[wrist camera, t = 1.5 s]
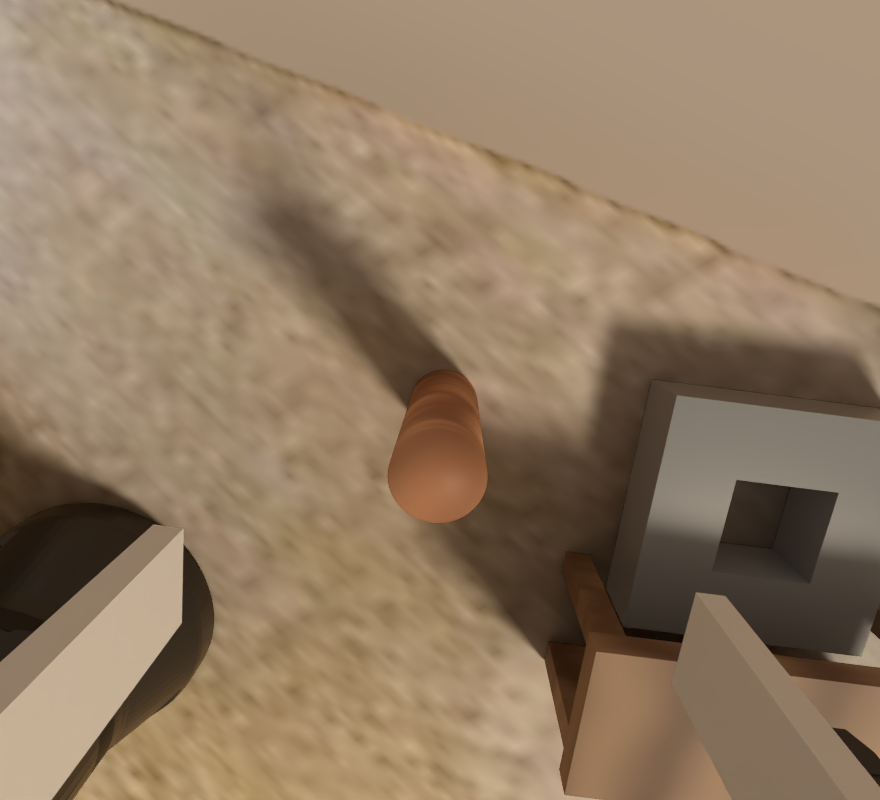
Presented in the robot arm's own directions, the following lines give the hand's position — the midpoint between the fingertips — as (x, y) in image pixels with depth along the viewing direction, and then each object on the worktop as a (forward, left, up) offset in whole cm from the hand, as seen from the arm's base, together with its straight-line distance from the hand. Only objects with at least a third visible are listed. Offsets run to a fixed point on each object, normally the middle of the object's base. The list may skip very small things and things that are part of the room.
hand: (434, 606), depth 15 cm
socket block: (+19, -4, -21) cm, 28 cm away
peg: (0, 0, -21) cm, 21 cm away
